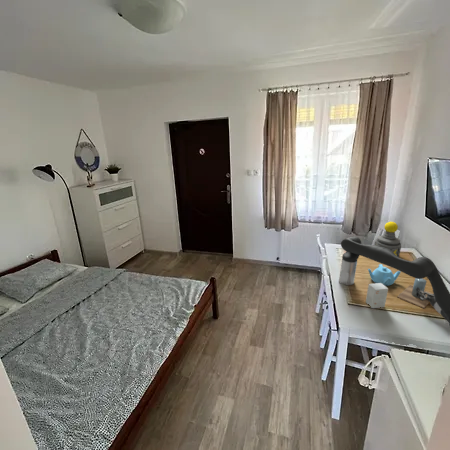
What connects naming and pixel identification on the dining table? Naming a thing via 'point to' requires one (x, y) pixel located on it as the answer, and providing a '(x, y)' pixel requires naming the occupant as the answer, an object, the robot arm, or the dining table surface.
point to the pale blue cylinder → (418, 283)
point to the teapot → (383, 275)
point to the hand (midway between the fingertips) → (425, 289)
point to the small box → (376, 295)
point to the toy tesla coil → (389, 239)
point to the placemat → (408, 297)
